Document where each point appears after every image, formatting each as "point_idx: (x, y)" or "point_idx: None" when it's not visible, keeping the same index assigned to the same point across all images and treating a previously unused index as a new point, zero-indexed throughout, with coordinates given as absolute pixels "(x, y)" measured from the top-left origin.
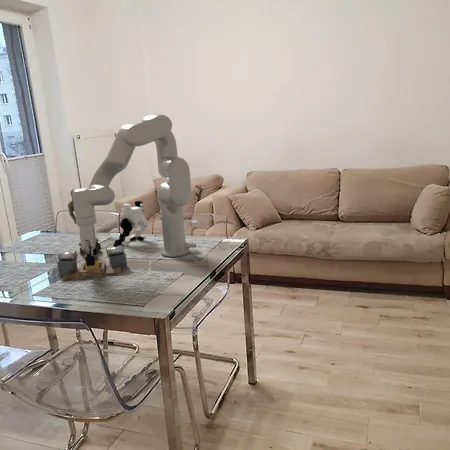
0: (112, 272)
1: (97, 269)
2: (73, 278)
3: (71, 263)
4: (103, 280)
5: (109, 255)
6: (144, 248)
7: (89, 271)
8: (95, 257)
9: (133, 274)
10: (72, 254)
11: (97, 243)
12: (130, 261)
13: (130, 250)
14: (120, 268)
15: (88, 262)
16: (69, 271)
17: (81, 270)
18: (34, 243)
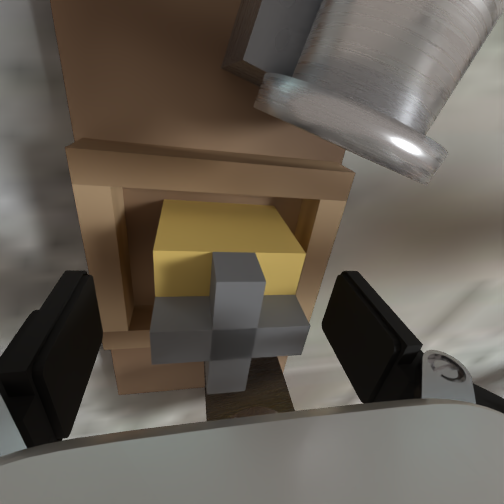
0: (120, 363)
1: (109, 313)
2: (67, 67)
3: (238, 53)
4: (14, 312)
5: None
6: None
7: (87, 252)
8: (206, 368)
9: (103, 424)
10: (295, 104)
11: None
12: (318, 390)
13: (475, 372)
14: (187, 387)
15: (27, 326)
16: (239, 15)
17: (118, 178)
18: None
